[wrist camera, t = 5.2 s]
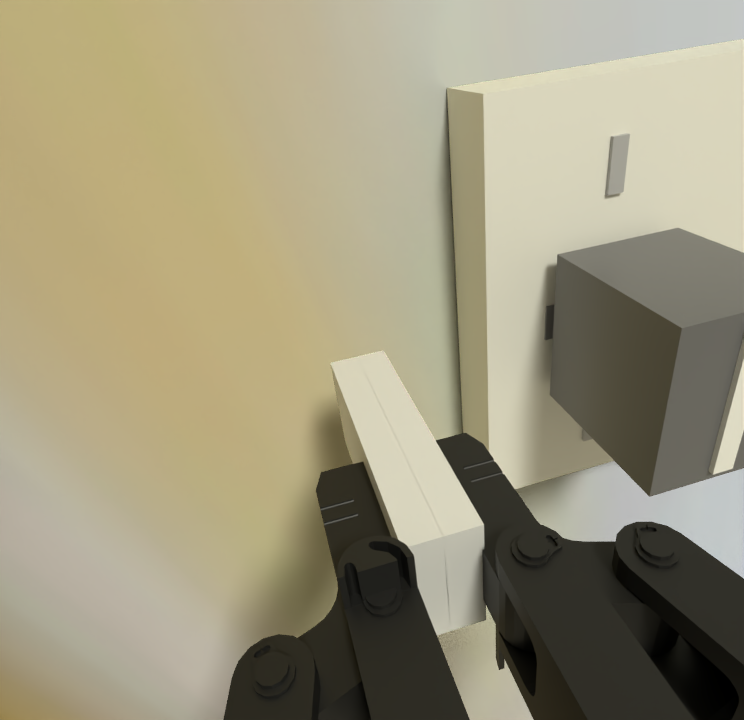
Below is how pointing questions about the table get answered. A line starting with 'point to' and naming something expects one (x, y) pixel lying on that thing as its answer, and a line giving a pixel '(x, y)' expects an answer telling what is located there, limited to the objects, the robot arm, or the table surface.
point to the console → (575, 217)
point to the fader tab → (654, 354)
